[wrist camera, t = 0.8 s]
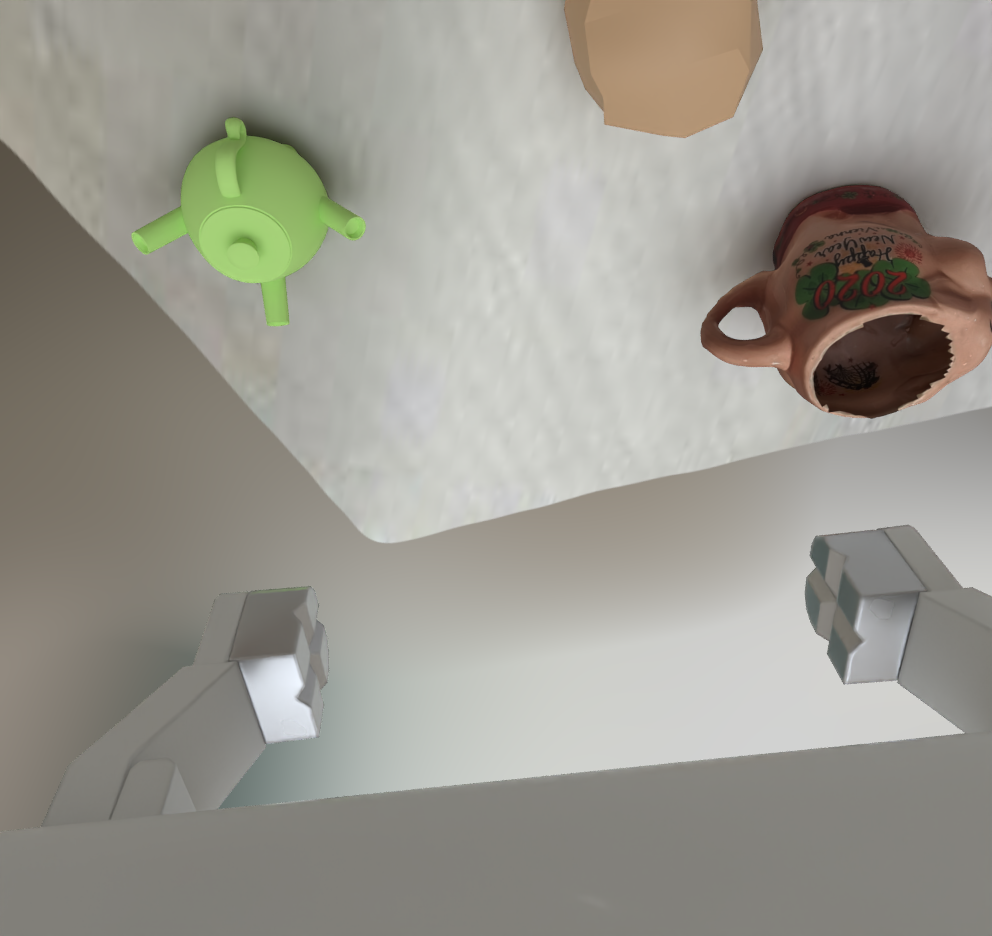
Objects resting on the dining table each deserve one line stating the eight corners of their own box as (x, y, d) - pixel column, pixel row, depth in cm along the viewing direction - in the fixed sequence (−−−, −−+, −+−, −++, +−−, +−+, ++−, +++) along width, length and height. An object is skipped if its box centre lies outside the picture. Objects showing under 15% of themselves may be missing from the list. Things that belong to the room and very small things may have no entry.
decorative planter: (683, 332, 70) (719, 459, 60) (672, 202, 61) (712, 327, 51) (941, 282, 67) (1020, 406, 57) (969, 137, 58) (1068, 257, 49)
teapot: (230, 68, 53) (204, 134, 47) (381, 180, 59) (373, 251, 53) (148, 192, 59) (116, 264, 53) (292, 282, 65) (277, 356, 59)
